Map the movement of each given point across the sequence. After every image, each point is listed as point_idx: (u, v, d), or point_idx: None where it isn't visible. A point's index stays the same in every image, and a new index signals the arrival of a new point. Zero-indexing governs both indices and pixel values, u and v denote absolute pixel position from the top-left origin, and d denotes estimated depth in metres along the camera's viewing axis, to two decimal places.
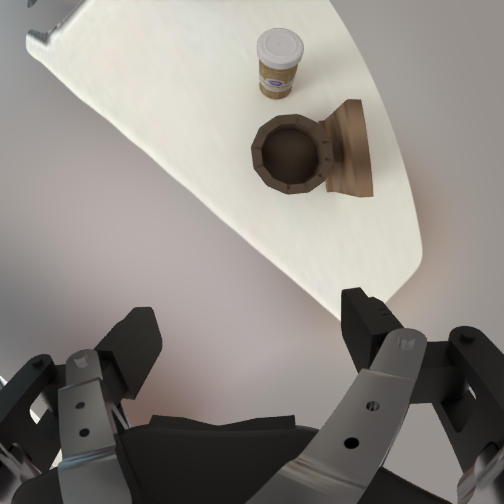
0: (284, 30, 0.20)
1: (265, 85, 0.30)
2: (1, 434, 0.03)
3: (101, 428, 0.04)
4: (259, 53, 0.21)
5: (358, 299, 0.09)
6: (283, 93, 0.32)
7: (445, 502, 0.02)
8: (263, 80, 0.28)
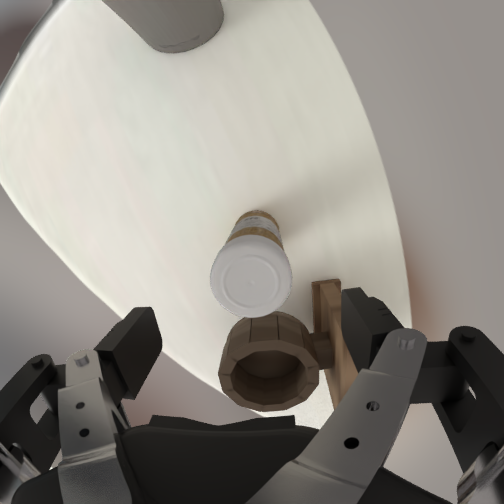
0: (259, 250, 0.14)
1: None
2: (1, 434, 0.03)
3: (101, 428, 0.04)
4: (215, 295, 0.16)
5: (358, 299, 0.09)
6: None
7: (445, 502, 0.02)
8: None
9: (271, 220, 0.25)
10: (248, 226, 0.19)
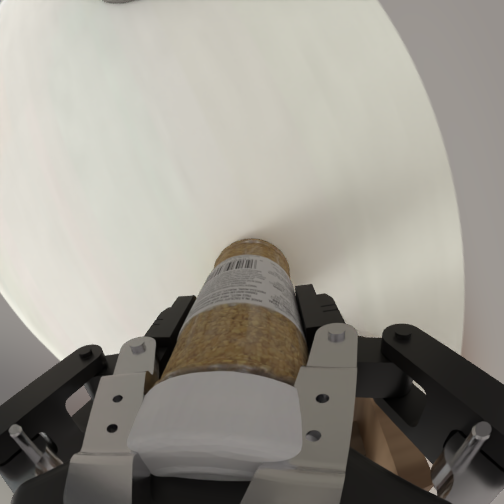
0: (246, 464, 0.03)
1: None
2: (27, 422, 0.04)
3: None
4: None
5: (305, 295, 0.10)
6: None
7: (445, 502, 0.02)
8: None
9: (277, 259, 0.14)
10: (228, 301, 0.08)
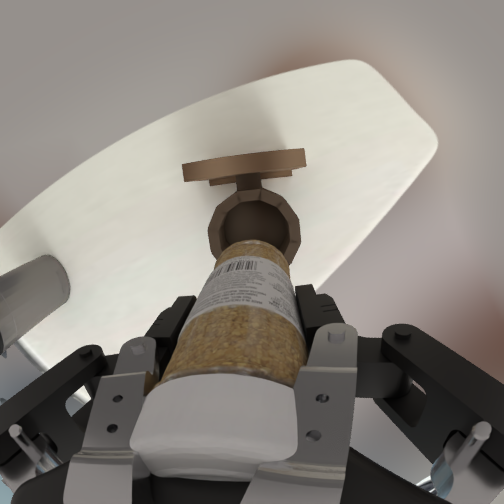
0: (246, 466, 0.03)
1: None
2: (27, 423, 0.04)
3: (131, 428, 0.04)
4: None
5: (305, 295, 0.10)
6: None
7: (445, 502, 0.02)
8: None
9: (278, 261, 0.14)
10: (228, 303, 0.08)
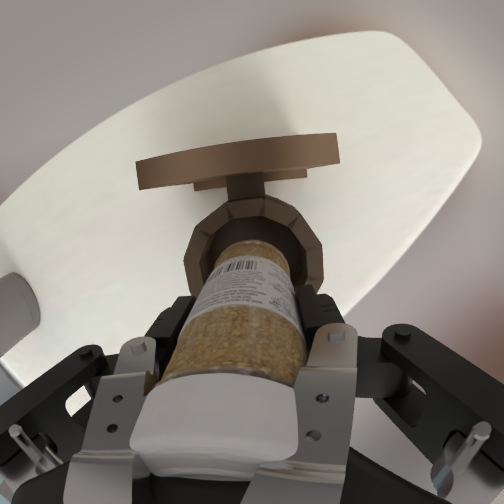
0: (246, 465, 0.03)
1: None
2: (27, 423, 0.04)
3: (131, 428, 0.04)
4: None
5: (305, 295, 0.10)
6: None
7: (445, 502, 0.02)
8: None
9: (278, 260, 0.14)
10: (228, 302, 0.08)
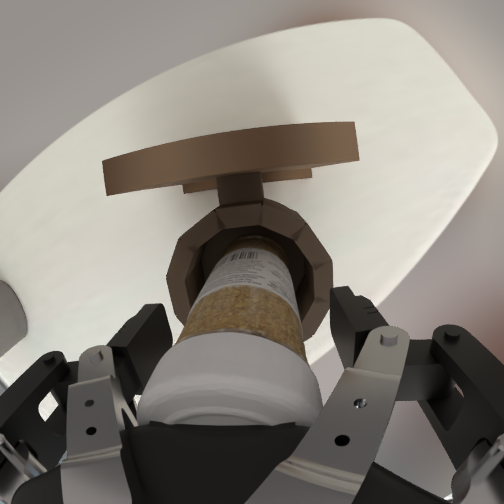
0: (245, 401, 0.05)
1: None
2: (7, 430, 0.04)
3: (109, 427, 0.04)
4: None
5: (345, 297, 0.09)
6: None
7: (445, 502, 0.02)
8: None
9: (277, 253, 0.15)
10: (232, 283, 0.09)
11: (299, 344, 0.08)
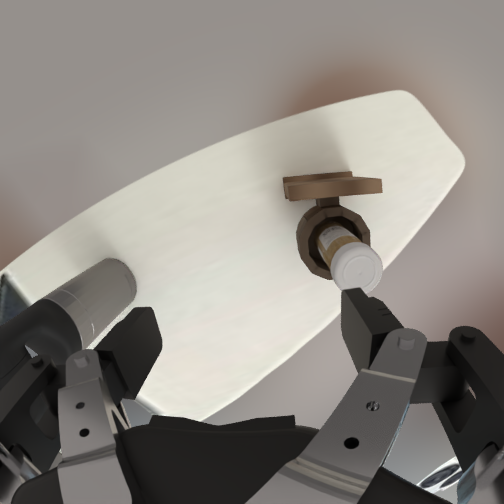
0: (366, 252, 0.22)
1: None
2: (1, 434, 0.03)
3: (101, 428, 0.04)
4: (335, 282, 0.23)
5: (358, 299, 0.09)
6: None
7: (445, 502, 0.02)
8: None
9: None
10: (343, 235, 0.27)
11: None
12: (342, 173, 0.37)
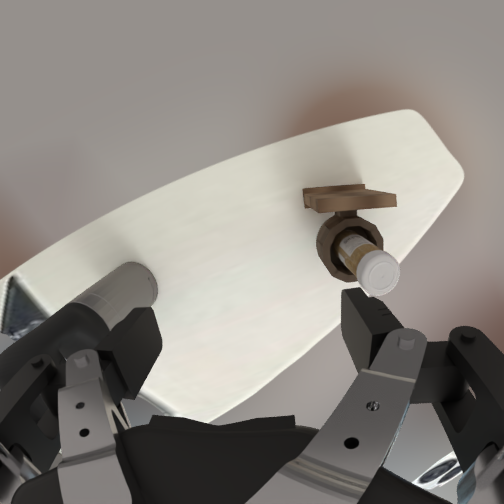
0: (388, 259, 0.25)
1: None
2: (1, 434, 0.03)
3: (102, 428, 0.04)
4: (361, 284, 0.26)
5: (358, 299, 0.09)
6: None
7: (445, 502, 0.02)
8: (345, 265, 0.33)
9: None
10: (364, 243, 0.30)
11: None
12: (356, 186, 0.40)
